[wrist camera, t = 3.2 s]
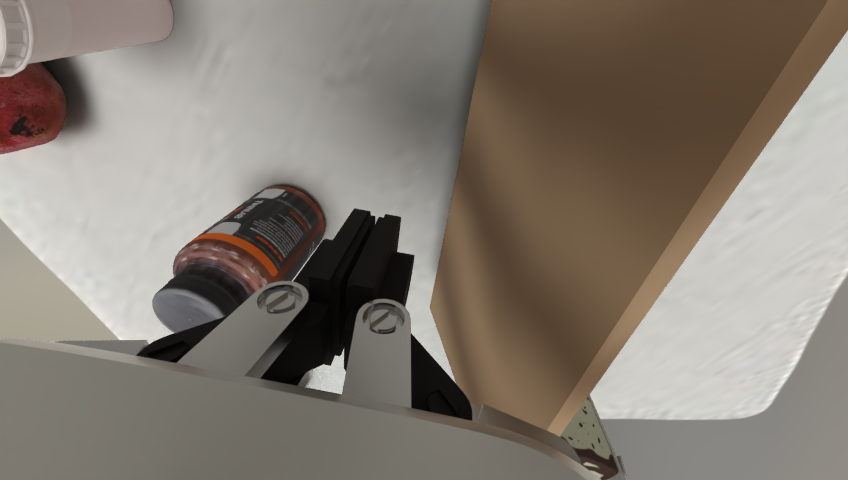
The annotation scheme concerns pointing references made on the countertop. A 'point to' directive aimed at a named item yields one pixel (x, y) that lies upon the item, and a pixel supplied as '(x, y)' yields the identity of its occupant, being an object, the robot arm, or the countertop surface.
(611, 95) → the lid
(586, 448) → the food container
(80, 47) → the smoothie
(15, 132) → the fruit
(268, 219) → the supplement bottle
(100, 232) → the countertop surface
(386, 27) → the countertop surface
